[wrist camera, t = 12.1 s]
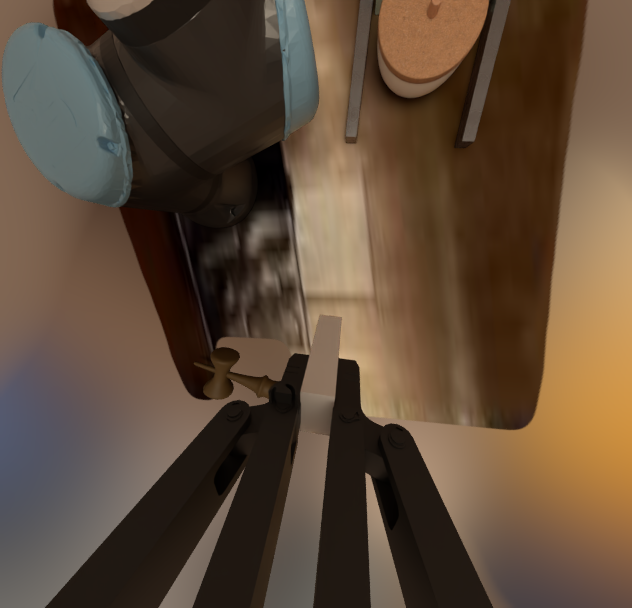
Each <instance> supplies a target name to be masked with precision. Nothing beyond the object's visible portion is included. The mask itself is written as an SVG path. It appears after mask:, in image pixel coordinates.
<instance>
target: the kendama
mask: <svg viewBox="0 0 632 608" xmlns="http://www.w3.org/2000/svg"><path fill="white" fill-rule="evenodd" d="M239 358H240V356H239V353H238V352H237V351H236V350H234V349H231V348H225V347H221V348H217V349H215V350H214V351H213V352H212V353H211V361H212V363H213V365H214V367H212V366H209V365H206V364H203V363H199V362H194V364H195V365H196V366H199V367H201V368H204V369H206V370H209V371H212V372H214V373H215V374H214V377H213V378H212V379H211V380H210V381H208V382H207V383H206V385H205V386H204V391H203V392H204V394H205V395H206V396H208V397H210V398H212V399H217V400H218V399H224V398H227V397H229V395H231V394H232V392H233V389H234V387H233V383H232V382H231V380H233V381H236V382H238V383H240V384H242V385H244V386H245V387H247V388H249V389H251V390H252V391H254V392H255V393H256V395H257V397H258V398H260V397H266V398H268V399H269V393H268V390H269V389H270V387H271V386H272V385H274V384H275V383H277V382H280V381H273V380H271V379H269V378H268V376H267V375H265V376H264V377H253V376H247V375H242V374H237V373H233V372H230V369H231V367H232V366H233V365H234V364H235V363H236V362H237V361H238V360H239ZM230 379H231V380H230Z"/></svg>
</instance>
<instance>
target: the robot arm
mask: <svg viewBox="0 0 632 608" xmlns="http://www.w3.org/2000/svg"><path fill="white" fill-rule="evenodd" d="M87 3H88V4H89V6H90V8H91V9H92V10H93V11H94V12H95V14H96V15H97V16H98V17H99V18H100V19H101V20H102V21H103V23H104V24H105V25H106V26H107V27H108V28H109V30H108V31H107V32H106V33H105V34H104V35H102V36H101V37H100V38H99V39H98V40H97V41H95V42H94V43H93V44H92V45H90V46H84V44H83V43H82V42H81V41H80V40H78V39H77V38H76V37H74V36H73V35H72V34H70V33H69V32H67V31H65V30H58V29H56V28H54V27H48V26H47V25H44V24H42V23H26V24H25V25H23V26H21V27H19V28H17V29H16V30H15V31H14V33H13V34H12V35H11V36H10V38H9V40H8V42H7V45H6V47H5V50H4V54H3V61H2V85H3V91H4V96H5V102H6V107H7V110H8V114H9V117H10V120H11V123H12V126H13V128H14V131H15V133H16V135H17V137H18V139H19V141H20V143H21V145H22V147H23V149H24V150H25V152H26V154H27V155H28V156H29V158H30V159H31V161H32V162H33V164H34V165H35V166H36V168H37V169H38V170H39V171H40V172H41V173H42V175H43V176H44V177H46V178H47V179H48V180H49V181H50V182H51V183H52V184H53V185H55V186H56V187H58V188H59V189H60V190H62V191H64V192H67V193H68V194H69V195H71V196H73V197H75V198H78V199H81V200H84V201H90V202H93V203H98V204H102V205H106V206H110V207H119V206H120V207H130V208H139V209H148V210H157V211H166V212H176V213H181V214H183V215H184V216H186V217H188V218H189V219H191V220H193V221H194V222H196V223H198V224H201V225H203V226H207V227H214V228H225V227H230V226H233V225H235V224H237V223H239V222H240V221H242V220H243V219H244V218H245V217H246V216H247V215H248V213H249V212H250V211H251V209H252V207H253V205H254V202H255V199H256V195H257V188H258V179H257V172H256V168H255V164H254V162H253V159H252V157H251V156H253V155H255V154H257V153H258V152H260V151H262V150H264V149H266V148H267V147H269V146H271V145H273V144H275V143H276V142H278V141H280V140H282V141H285V140H286V139H287V138H288V137H289V135H290V134H292V133H293V132H295V131H296V130H298V129H299V128H301V127H303V126H304V125H306V124H307V123H309V122H310V121H311V120H312V119H313V117H314V115H315V113H316V111H317V108H318V104H319V85H318V75H317V68H316V61H315V54H314V48H313V42H312V37H311V31H310V26H309V20H308V16H307V11H306V6H305V1H304V0H87ZM341 320H342V317H335V316H326V315H320V316H319V320H318V324H317V328H316V332H315V336H314V340H313V344H312V348H311V352H310V355H304V354H297V353H295V354H294V355H293V356H291V358H289V361H288V363H287V367H286V369H285V372H284V375H283V377H282V380H281V381H280V382H277V383H275V384H274V385H272V386H271V387H270V389H269V390H268V393H269V402H268V403H266V404H263V405H257V406H251V407H249V405H248V404H247V403H246V402H245V401H240V400H237V401H232V402H230V403H227V404H226V405H225V406H224V407H222V409H221V410H220V411H219V412H218V413H217V414H216V415H215V417H214V418H213V419H212V420H211V421H210V422H209V423H208V424H207V425H206V427H205V428H204V429H203V430H202V431H201V432H200V433H199V434H198V436H197V437H196V438H195V439H194V440H193V442H191V443H190V445H189V446H188V447H187V448H186V449H185V450H184V451H183V453H182V454H181V455H180V456H179V457H178V458H177V459H176V460H175V462H174V463H173V464H172V465H171V466H170V467H169V468H168V469H167V471H166V472H165V473H164V474H163V475H162V476H161V477H160V478H159V480H158V481H157V482H156V483H155V484H154V485H153V486H152V488H151V489H150V490H149V491H148V492H147V493H146V494H145V495H144V497H143V498H142V499H141V500H140V501H139V502H138V503H137V504H136V506H135V507H134V508H133V509H132V510H131V511H130V512H129V514H128V515H127V516H126V517H125V518H124V519H123V520H122V521H121V523H120V524H119V525H118V526H117V527H116V528H115V529H114V530H113V532H112V533H111V534H110V535H109V536H108V537H107V538H106V540H105V541H104V542H103V543H102V544H101V545H100V546H99V547H98V548H97V550H96V551H95V552H94V553H93V554H92V555H91V556H90V558H89V559H88V560H87V561H86V562H85V563H84V564H83V565H82V567H81V568H80V569H79V570H78V571H77V572H76V574H75V575H74V576H73V577H72V578H71V579H70V580H69V581H68V582H67V584H66V585H65V586H64V587H63V588H62V589H61V590H60V591H59V593H58V594H57V595H56V596H55V597H54V598H53V599H52V601H51V602H50V603H49V604H48V605H47V606H46V607H45V608H158V607H159V606H160V604H161V602H162V601H163V599H164V598H165V596H166V594H167V593H168V591H169V589H170V588H171V586H172V585H173V583H174V581H175V580H176V578H177V576H178V575H179V573H180V572H181V570H182V568H183V567H184V565H185V563H186V562H187V560H188V559H189V557H190V555H191V554H192V552H193V551H194V549H195V547H196V546H197V544H198V542H199V541H200V539H201V538H202V536H203V534H204V533H205V531H206V530H207V528H208V526H209V525H210V523H211V521H212V520H213V518H214V516H215V515H216V513H217V512H218V510H219V508H220V507H221V505H222V503H223V502H224V500H225V498H226V497H227V495H228V494H229V492H230V491H231V489H232V487H233V486H234V484H235V483H236V481H237V479H238V478H239V476H240V474H241V473H242V471H243V470H244V468H245V470H244V472H243V475H242V477H241V480H240V483H239V485H238V488H237V491H236V493H235V496H234V499H233V501H232V504H231V507H230V509H229V512H228V515H227V517H226V520H225V523H224V525H223V528H222V530H221V533H220V536H219V538H218V541H217V544H216V546H215V549H214V552H213V554H212V557H211V560H210V563H209V565H208V568H207V570H206V573H205V576H204V578H203V581H202V584H201V586H200V589H199V592H198V594H197V597H196V600H195V602H194V605H193V608H263V606H264V601H265V597H266V592H267V587H268V582H269V577H270V573H271V568H272V563H273V559H274V554H275V549H276V544H277V540H278V534H279V530H280V525H281V521H282V516H283V511H284V506H285V501H286V497H287V492H288V487H289V482H290V478H291V473H292V468H293V463H294V459H295V454H296V449H297V443H298V433H299V429H300V431H304V432H311V433H316V434H323V435H329V436H330V439H329V448H328V456H327V457H328V459H327V468H326V478H325V479H326V480H325V490H324V500H323V510H322V521H321V531H320V541H319V553H318V562H317V563H318V564H317V573H316V583H315V594H314V604H313V608H371V602H370V579H369V578H370V577H369V553H368V528H367V503H366V478H365V472H366V473H367V474H369V475H371V478H372V482H373V486H374V490H375V493H376V497H377V501H378V505H379V508H380V512H381V516H382V519H383V523H384V527H385V531H386V534H387V538H388V542H389V546H390V549H391V553H392V557H393V560H394V564H395V568H396V572H397V575H398V579H399V583H400V586H401V590H402V594H403V598H404V601H405V605H406V608H493V606H492V604H491V602H490V600H489V598H488V596H487V594H486V592H485V589H484V587H483V585H482V583H481V581H480V579H479V577H478V575H477V572H476V571H475V568H474V566H473V564H472V562H471V560H470V558H469V555H468V554H467V551H466V549H465V547H464V545H463V543H462V541H461V539H460V537H459V534H458V532H457V530H456V528H455V526H454V524H453V522H452V519H451V517H450V515H449V513H448V511H447V509H446V507H445V505H444V503H443V500H442V499H441V496H440V494H439V492H438V490H437V488H436V486H435V484H434V481H433V479H432V477H431V475H430V473H429V471H428V469H427V467H426V464H425V462H424V460H423V458H422V456H421V454H420V452H419V450H418V447H417V445H416V443H415V441H414V439H413V437H412V436H411V434H410V433H409V431H407V430H406V429H405V428H404V427H402V426H400V425H398V424H388V425H385V426H384V427H383V426H381V425H378V424H376V423H374V422H373V421H371V420H369V419H368V418H367V417H366V416H365V414H364V413H363V411H362V409H361V400H360V372H359V366H358V364H357V362H356V361H355V360H347V359H339V358H338V356H339V344H340V332H341ZM245 466H246V467H245Z"/></svg>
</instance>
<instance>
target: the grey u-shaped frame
mask: <svg viewBox="0 0 632 608" xmlns="http://www.w3.org/2000/svg"><path fill="white" fill-rule="evenodd" d="M510 1H511V0H490V1H489V5H488V10H487V16H486V19H485V22H484V25H483V29H482V33H481V37H480V41H479V46H478V50H477V54H476V58H475V63H474V67H473V71H472V75H471V79H470V84H469V88H468V92H467V96H466V101H465V105H464V109H463V113H462V117H461V122H460V126H459V130H458V134H457V139H456V143H455V147H454V148H466V147H468V146H469V145H470V144H472V143H473V142H474V140H475V137H476V133H477V129H478V125H479V121H480V117H481V113H482V109H483V106H484V102H485V98H486V94H487V90H488V86H489V82H490V78H491V75H492V71H493V67H494V63H495V59H496V55H497V51H498V47H499V44H500V40H501V36H502V32H503V28H504V24H505V20H506V16H507V13H508V9H509V5H510ZM372 8H373V0H360V8H359V17H358V26H357V35H356V45H355V54H354V63H353V72H352V82H351V91H350V100H349V109H348V118H347V128H346V143H356V140H357V132H358V123H359V115H360V107H361V99H362V91H363V82H364V74H365V66H366V58H367V49H368V41H369V33H370V25H371V16H372Z"/></svg>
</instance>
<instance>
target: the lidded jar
mask: <svg viewBox="0 0 632 608" xmlns="http://www.w3.org/2000/svg"><path fill="white" fill-rule="evenodd" d="M488 5H489V0H382V3H381V8H380V13H379V20H378V40H377V54H378V63H379V68H380V72H381V75H382V78H383V80H384V82H385V83H386V85H387V86H388V87H389V89H390V90H391V91H393V92H394V93H395V94H397V95H399V96H401V97H405V98H416V97H421V96H423V95H426V94H428V93H430V92H432V91H434V90H435V89H436V88H438V87H439V86H440V85H441V84H443V83H444V82H445V81H446V80H447V79H448V78H449V77H450V76H451V75H452V73H453V72H454V71H455V70H456V68H457V67H458V66H459V65H460V63H461V62H462V60H463V59H464V58H465V57H466V55H467V54H468V53H469V51H470V50H471V48H472V47H473V45H474V43H475V42H476V40H477V38H478V36H479V34H480V32H481V30H482V28H483V25H484V22H485V19H486V16H487V10H488Z"/></svg>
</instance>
